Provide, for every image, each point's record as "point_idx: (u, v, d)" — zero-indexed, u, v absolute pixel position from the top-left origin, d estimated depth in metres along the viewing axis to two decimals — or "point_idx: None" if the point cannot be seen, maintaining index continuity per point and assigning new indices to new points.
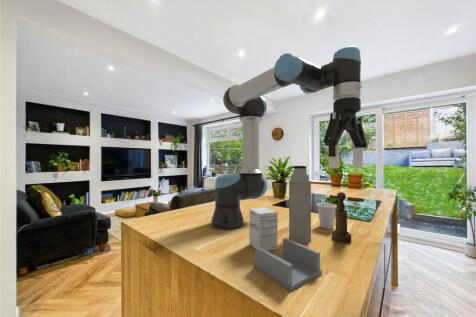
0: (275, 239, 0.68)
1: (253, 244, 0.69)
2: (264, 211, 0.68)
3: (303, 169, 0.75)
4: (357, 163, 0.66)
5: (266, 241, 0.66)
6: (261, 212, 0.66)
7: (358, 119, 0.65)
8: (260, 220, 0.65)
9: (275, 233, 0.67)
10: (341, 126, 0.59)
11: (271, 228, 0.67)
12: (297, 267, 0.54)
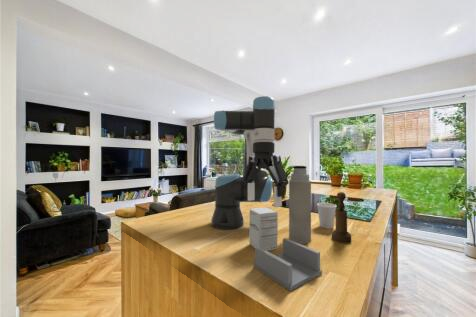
0: (275, 239, 0.68)
1: (253, 244, 0.69)
2: (264, 211, 0.68)
3: (303, 169, 0.75)
4: None
5: (266, 241, 0.66)
6: (261, 212, 0.66)
7: None
8: (260, 220, 0.65)
9: (275, 233, 0.67)
10: None
11: (271, 228, 0.67)
12: (297, 267, 0.54)
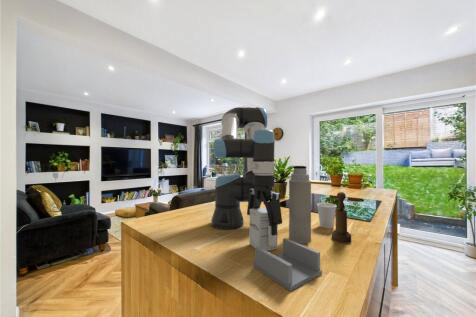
0: None
1: (253, 244, 0.69)
2: (264, 211, 0.68)
3: (303, 169, 0.75)
4: None
5: (266, 241, 0.66)
6: (261, 212, 0.66)
7: None
8: (260, 220, 0.65)
9: None
10: None
11: None
12: (297, 267, 0.54)
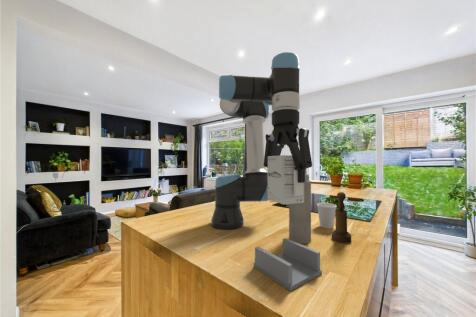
0: None
1: (273, 198, 0.54)
2: None
3: None
4: None
5: (290, 191, 0.52)
6: (283, 155, 0.52)
7: None
8: (283, 164, 0.51)
9: None
10: None
11: None
12: (297, 267, 0.54)
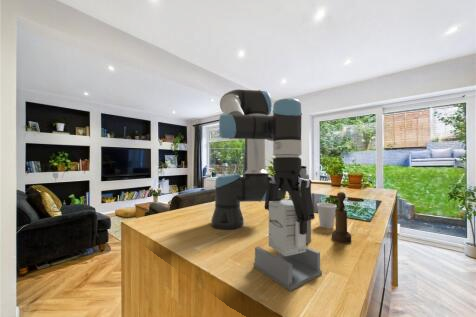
0: None
1: (274, 246, 0.53)
2: (289, 203, 0.53)
3: (303, 169, 0.75)
4: None
5: (292, 242, 0.51)
6: (285, 205, 0.51)
7: None
8: (285, 215, 0.50)
9: None
10: None
11: None
12: (297, 267, 0.54)
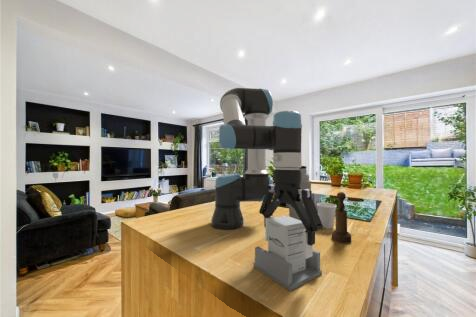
0: None
1: None
2: (289, 221, 0.53)
3: (303, 169, 0.75)
4: None
5: (293, 261, 0.51)
6: (286, 224, 0.51)
7: None
8: (286, 234, 0.50)
9: None
10: None
11: (299, 244, 0.52)
12: None
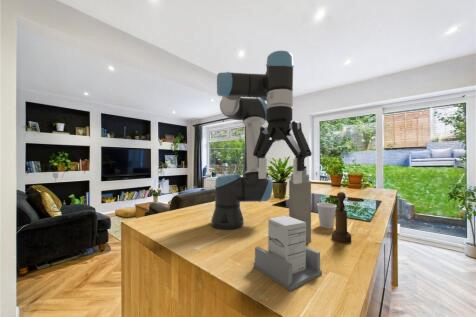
0: (304, 257, 0.53)
1: None
2: (289, 221, 0.53)
3: None
4: None
5: (293, 261, 0.51)
6: (286, 224, 0.51)
7: None
8: (286, 234, 0.50)
9: (303, 249, 0.53)
10: None
11: (299, 244, 0.52)
12: None
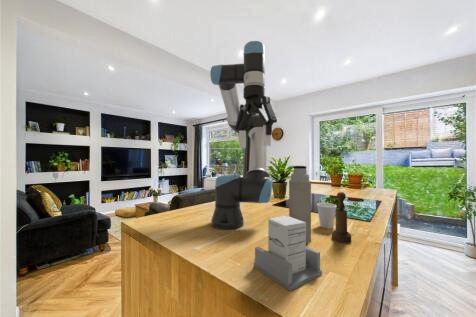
0: (304, 257, 0.53)
1: None
2: (289, 221, 0.53)
3: (303, 169, 0.75)
4: None
5: (293, 261, 0.51)
6: (286, 224, 0.51)
7: None
8: (286, 234, 0.50)
9: (303, 249, 0.53)
10: None
11: (299, 244, 0.52)
12: None
